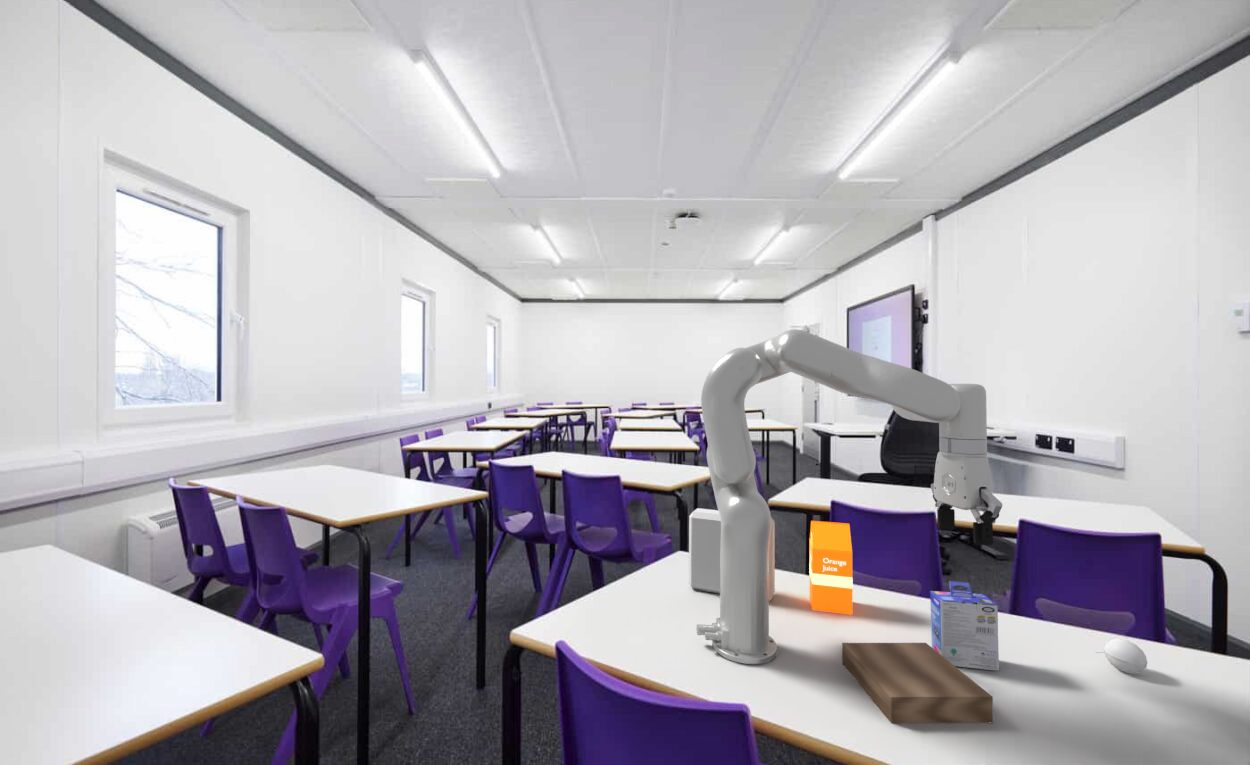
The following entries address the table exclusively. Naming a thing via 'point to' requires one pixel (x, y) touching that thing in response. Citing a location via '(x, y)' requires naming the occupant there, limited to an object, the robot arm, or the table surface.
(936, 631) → the ink cartridge box
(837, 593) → the orange juice
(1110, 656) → the white egg-shaped piece
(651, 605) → the table surface
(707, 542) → the bevelled white case
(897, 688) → the walnut plinth
